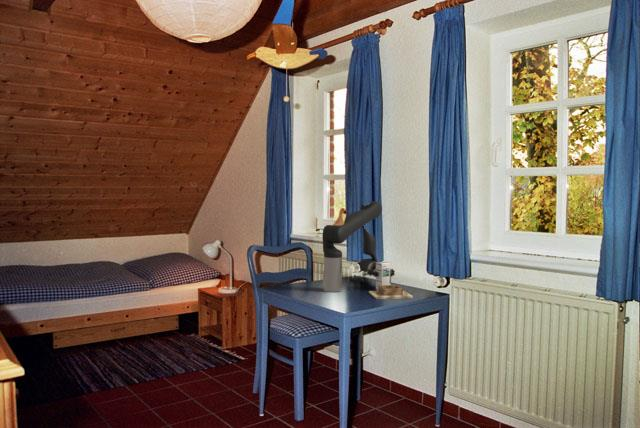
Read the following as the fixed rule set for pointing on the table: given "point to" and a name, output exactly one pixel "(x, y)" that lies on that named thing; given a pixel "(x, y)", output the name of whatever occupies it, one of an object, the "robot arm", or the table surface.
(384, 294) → the socket caddy
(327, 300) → the table surface
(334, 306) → the table surface
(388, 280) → the syrup box
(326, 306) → the table surface
